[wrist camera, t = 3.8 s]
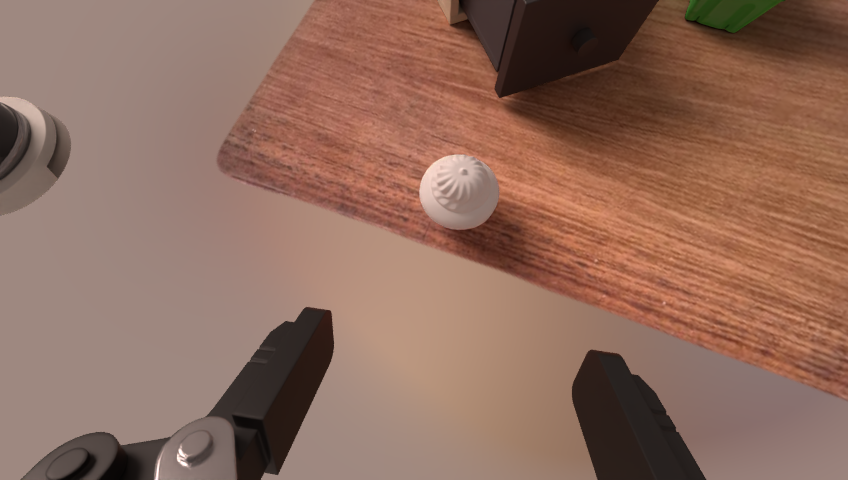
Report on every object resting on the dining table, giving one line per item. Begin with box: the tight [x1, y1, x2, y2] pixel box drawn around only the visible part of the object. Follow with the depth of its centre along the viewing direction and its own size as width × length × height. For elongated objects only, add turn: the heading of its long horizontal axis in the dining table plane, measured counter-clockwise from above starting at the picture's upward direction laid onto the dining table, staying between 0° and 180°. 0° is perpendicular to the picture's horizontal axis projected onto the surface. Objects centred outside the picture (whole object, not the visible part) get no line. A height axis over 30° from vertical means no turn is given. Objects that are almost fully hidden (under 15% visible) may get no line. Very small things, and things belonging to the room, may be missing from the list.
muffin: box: [419, 154, 499, 230], centre depth 24 cm, size 6×6×7 cm
